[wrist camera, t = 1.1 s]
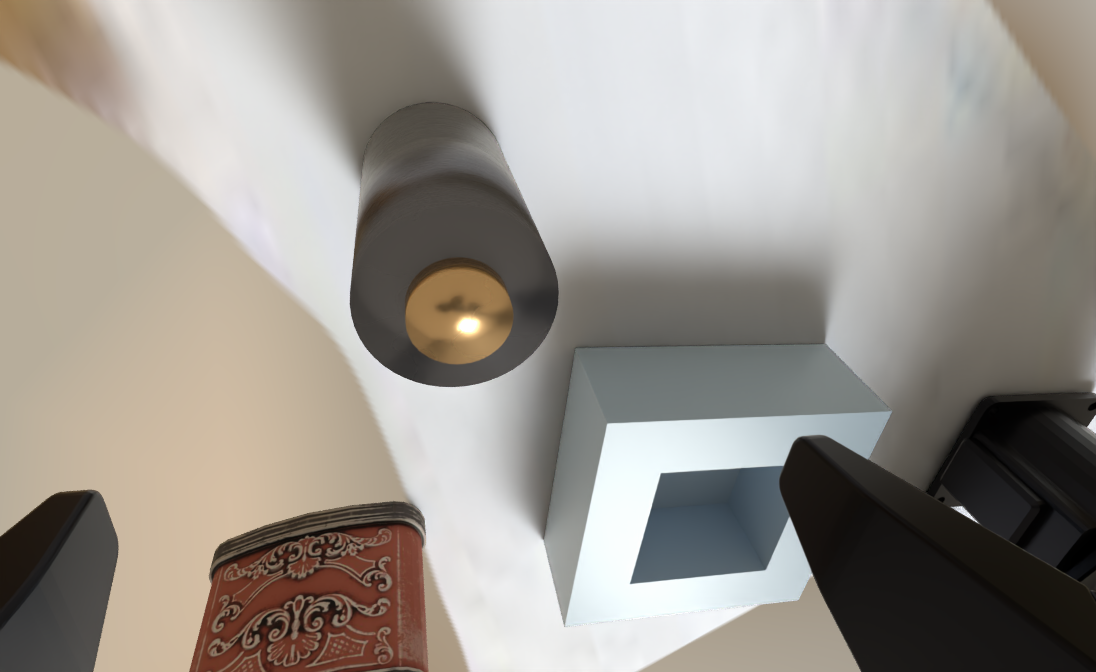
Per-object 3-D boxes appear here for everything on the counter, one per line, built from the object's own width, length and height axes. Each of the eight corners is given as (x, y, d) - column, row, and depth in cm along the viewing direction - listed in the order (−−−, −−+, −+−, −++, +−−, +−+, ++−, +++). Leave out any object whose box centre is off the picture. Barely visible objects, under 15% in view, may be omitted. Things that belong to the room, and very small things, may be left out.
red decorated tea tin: (233, 592, 26) (164, 904, 18) (198, 538, 24) (103, 858, 16) (433, 545, 27) (452, 822, 19) (414, 488, 25) (427, 769, 17)
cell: (510, 107, 18) (579, 223, 12) (499, 240, 20) (551, 402, 14) (359, 97, 17) (342, 215, 11) (364, 237, 19) (353, 408, 13)
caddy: (825, 344, 25) (892, 411, 22) (753, 523, 31) (798, 600, 27) (575, 347, 23) (607, 423, 20) (543, 541, 28) (564, 626, 25)
